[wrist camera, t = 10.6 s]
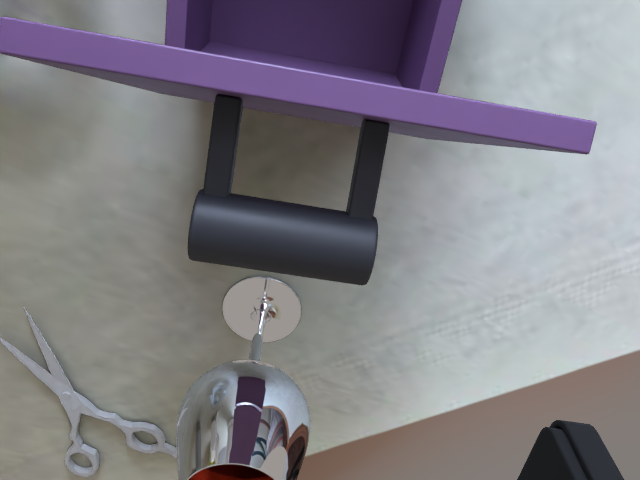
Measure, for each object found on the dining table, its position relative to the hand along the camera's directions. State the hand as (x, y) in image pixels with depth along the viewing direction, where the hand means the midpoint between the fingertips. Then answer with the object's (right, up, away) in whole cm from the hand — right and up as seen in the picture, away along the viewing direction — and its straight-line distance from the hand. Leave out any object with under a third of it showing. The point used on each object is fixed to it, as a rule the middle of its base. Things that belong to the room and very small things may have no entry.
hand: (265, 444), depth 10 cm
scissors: (-20, -10, +41) cm, 47 cm away
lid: (0, +9, +12) cm, 15 cm away
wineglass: (-4, -2, +37) cm, 38 cm away
